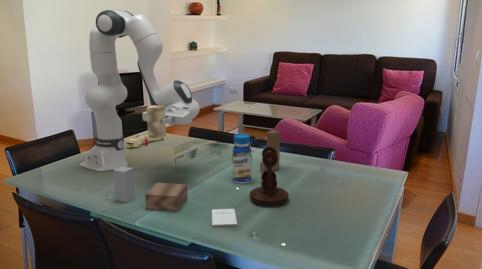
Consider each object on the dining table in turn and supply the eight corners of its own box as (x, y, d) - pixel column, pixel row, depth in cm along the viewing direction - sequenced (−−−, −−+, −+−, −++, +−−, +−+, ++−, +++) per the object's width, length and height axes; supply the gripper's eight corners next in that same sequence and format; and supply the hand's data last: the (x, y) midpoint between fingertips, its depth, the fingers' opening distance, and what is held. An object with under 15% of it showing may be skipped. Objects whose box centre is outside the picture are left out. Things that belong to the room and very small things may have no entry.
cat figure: (154, 140, 254) (121, 146, 233) (154, 126, 252) (121, 130, 232) (166, 143, 248) (133, 149, 228) (166, 128, 247) (133, 133, 226)
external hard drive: (212, 229, 140) (211, 213, 152) (237, 228, 140) (234, 212, 152) (212, 224, 139) (211, 209, 151) (237, 223, 140) (234, 208, 152)
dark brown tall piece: (249, 192, 170) (250, 143, 165) (286, 193, 169) (288, 144, 164) (249, 207, 155) (249, 154, 150) (289, 208, 155) (291, 155, 150)
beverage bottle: (254, 179, 185) (255, 134, 180) (246, 185, 177) (247, 138, 172) (237, 176, 188) (237, 132, 183) (228, 182, 181) (228, 136, 176)
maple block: (148, 137, 168) (146, 107, 165) (155, 134, 172) (154, 105, 169) (158, 138, 166) (157, 108, 163) (166, 135, 170) (164, 106, 167)
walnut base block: (146, 209, 154) (145, 194, 152) (157, 197, 165) (156, 182, 164) (178, 212, 152) (177, 196, 150) (187, 199, 163) (187, 184, 162)
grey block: (115, 200, 161) (113, 170, 159) (124, 195, 166) (122, 166, 163) (126, 202, 159) (124, 172, 157) (134, 197, 164) (133, 168, 161)
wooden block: (267, 173, 191) (268, 134, 187) (259, 171, 194) (260, 133, 190) (279, 169, 198) (280, 131, 194) (271, 167, 201) (272, 129, 197)
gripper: (153, 105, 182) (132, 111, 170) (195, 109, 174) (176, 115, 162) (154, 120, 184) (133, 126, 172) (195, 124, 176) (177, 131, 163)
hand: (155, 121), depth 167 cm, fingers closed on maple block, 5 cm apart
